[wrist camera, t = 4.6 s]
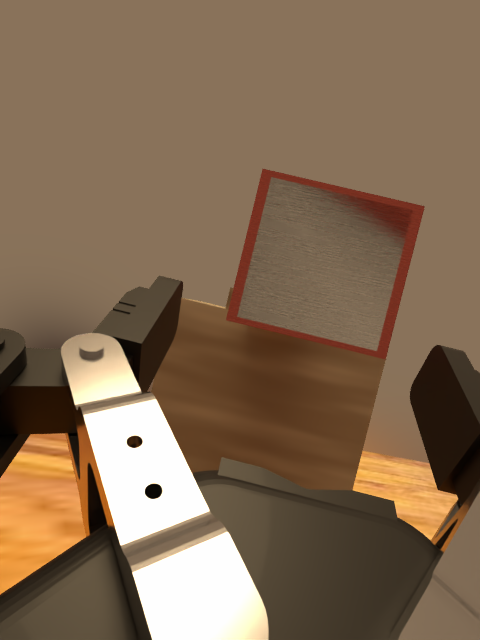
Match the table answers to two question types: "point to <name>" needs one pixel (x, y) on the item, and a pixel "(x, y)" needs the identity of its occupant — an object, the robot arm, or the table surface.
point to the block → (324, 263)
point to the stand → (265, 399)
